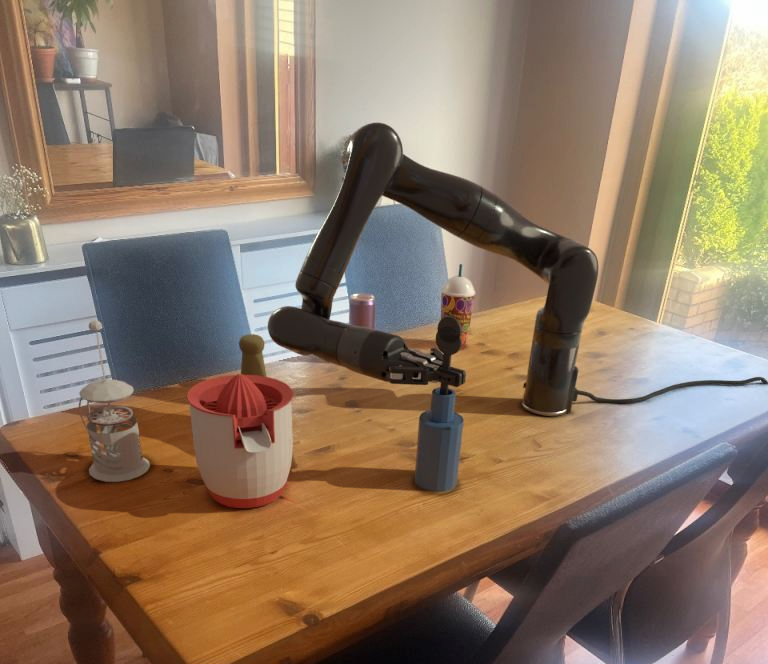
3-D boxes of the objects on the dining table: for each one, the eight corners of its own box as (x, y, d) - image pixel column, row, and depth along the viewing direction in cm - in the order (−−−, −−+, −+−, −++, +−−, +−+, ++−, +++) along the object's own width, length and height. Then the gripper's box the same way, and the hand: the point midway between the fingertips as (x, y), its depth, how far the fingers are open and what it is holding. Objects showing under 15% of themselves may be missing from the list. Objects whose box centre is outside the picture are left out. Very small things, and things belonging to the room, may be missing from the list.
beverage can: (370, 366, 167) (372, 301, 159) (345, 363, 168) (346, 298, 160) (375, 357, 172) (378, 294, 164) (351, 354, 173) (352, 292, 165)
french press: (116, 487, 115) (89, 335, 102) (68, 467, 120) (37, 319, 107) (162, 464, 122) (142, 319, 109) (115, 446, 127) (91, 305, 114)
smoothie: (447, 352, 178) (455, 269, 167) (430, 342, 184) (437, 261, 173) (476, 348, 181) (485, 267, 171) (458, 338, 187) (466, 259, 177)
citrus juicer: (211, 531, 106) (198, 405, 95) (188, 477, 119) (175, 361, 109) (312, 512, 111) (311, 391, 101) (280, 462, 125) (275, 351, 114)
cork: (273, 384, 155) (271, 334, 149) (258, 393, 150) (255, 342, 145) (250, 379, 157) (247, 329, 151) (234, 387, 152) (230, 337, 147)
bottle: (450, 473, 124) (460, 383, 116) (460, 493, 118) (471, 400, 110) (411, 474, 123) (417, 383, 114) (419, 495, 117) (426, 401, 109)
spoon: (425, 476, 122) (439, 313, 107) (447, 484, 120) (464, 319, 105) (423, 477, 121) (437, 313, 107) (446, 485, 119) (462, 320, 105)
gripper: (346, 340, 111) (441, 367, 102) (396, 321, 120) (486, 344, 112) (345, 385, 115) (436, 415, 106) (394, 364, 124) (481, 390, 116)
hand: (462, 379), depth 109 cm, fingers closed on spoon, 1 cm apart
